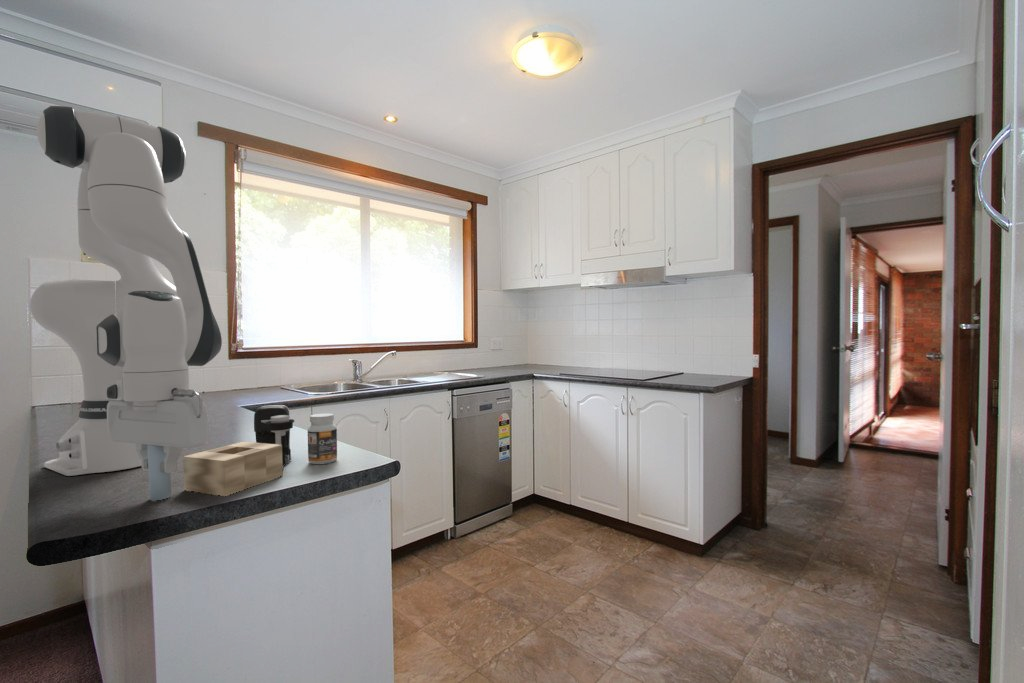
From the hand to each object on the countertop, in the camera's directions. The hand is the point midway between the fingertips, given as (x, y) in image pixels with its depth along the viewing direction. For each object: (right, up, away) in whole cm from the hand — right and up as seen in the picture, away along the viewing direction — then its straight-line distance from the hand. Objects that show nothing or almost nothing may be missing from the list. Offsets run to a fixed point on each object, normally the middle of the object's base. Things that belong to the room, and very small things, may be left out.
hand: (159, 470), depth 80 cm
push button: (+11, -4, +20) cm, 23 cm away
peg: (0, -5, 0) cm, 5 cm away
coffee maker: (+6, -4, +25) cm, 27 cm away
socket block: (+8, -4, +8) cm, 12 cm away
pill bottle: (+19, -4, +22) cm, 29 cm away
